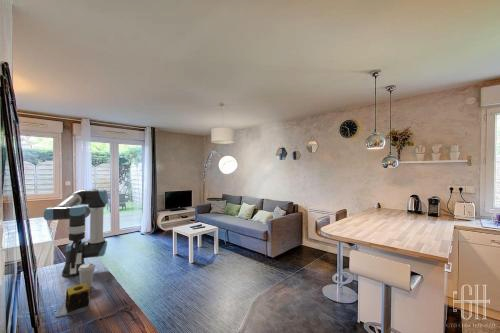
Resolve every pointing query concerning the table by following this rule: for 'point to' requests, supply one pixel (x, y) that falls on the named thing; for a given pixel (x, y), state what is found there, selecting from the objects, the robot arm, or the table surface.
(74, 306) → the candle
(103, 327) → the table surface
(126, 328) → the table surface
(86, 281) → the coffee cup
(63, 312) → the coaster
